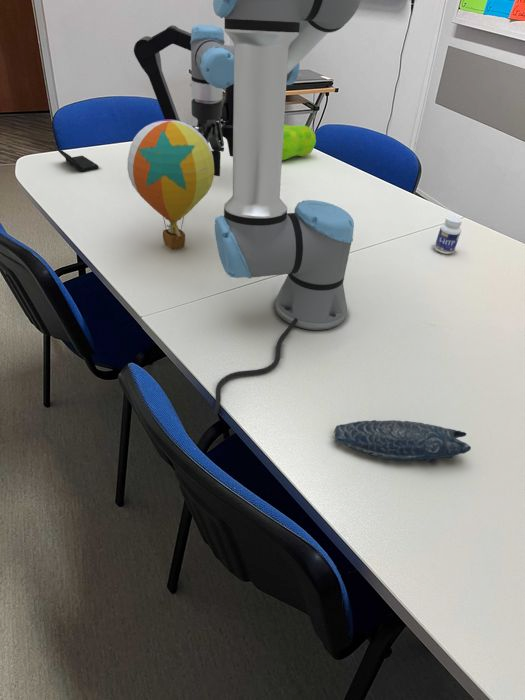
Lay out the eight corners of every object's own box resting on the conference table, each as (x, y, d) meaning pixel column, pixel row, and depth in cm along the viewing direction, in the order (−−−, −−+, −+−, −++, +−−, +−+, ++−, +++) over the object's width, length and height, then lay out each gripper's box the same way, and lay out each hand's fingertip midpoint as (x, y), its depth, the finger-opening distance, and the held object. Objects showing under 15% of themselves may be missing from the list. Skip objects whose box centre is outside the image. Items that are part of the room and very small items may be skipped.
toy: (119, 241, 130) (106, 114, 112) (184, 223, 141) (182, 104, 122) (161, 274, 119) (154, 140, 101) (229, 252, 130) (233, 127, 111)
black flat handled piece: (103, 161, 168) (81, 139, 159) (91, 179, 166) (69, 158, 158) (82, 157, 174) (60, 135, 166) (70, 174, 173) (48, 153, 164)
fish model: (468, 474, 80) (479, 453, 77) (333, 457, 81) (338, 435, 78) (460, 442, 85) (469, 421, 82) (333, 426, 86) (337, 404, 83)
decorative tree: (231, 119, 188) (311, 119, 193) (231, 149, 194) (308, 148, 199) (238, 134, 174) (324, 133, 179) (238, 165, 181) (321, 163, 186)
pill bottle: (433, 251, 139) (442, 220, 133) (435, 243, 143) (444, 213, 137) (453, 256, 138) (464, 225, 132) (454, 247, 142) (465, 217, 136)
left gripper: (210, 87, 160) (209, 139, 170) (204, 103, 145) (203, 159, 155) (246, 90, 160) (243, 142, 170) (243, 106, 146) (240, 162, 155)
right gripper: (210, 86, 137) (209, 166, 151) (171, 109, 118) (174, 198, 132) (237, 90, 136) (234, 170, 149) (202, 114, 117) (201, 203, 131)
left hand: (232, 151), depth 163 cm, fingers open, 9 cm apart
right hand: (206, 183), depth 141 cm, fingers open, 13 cm apart
